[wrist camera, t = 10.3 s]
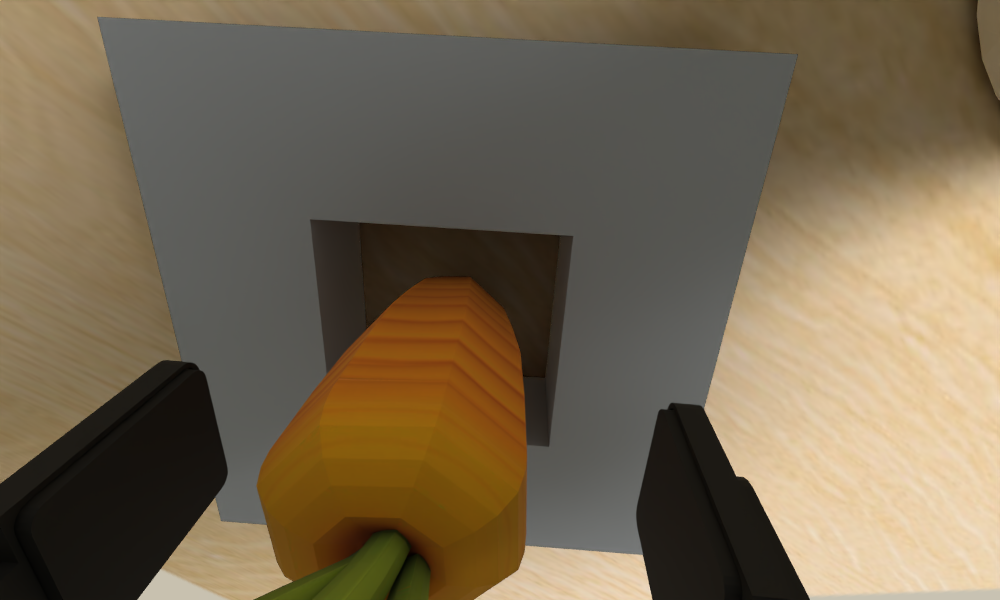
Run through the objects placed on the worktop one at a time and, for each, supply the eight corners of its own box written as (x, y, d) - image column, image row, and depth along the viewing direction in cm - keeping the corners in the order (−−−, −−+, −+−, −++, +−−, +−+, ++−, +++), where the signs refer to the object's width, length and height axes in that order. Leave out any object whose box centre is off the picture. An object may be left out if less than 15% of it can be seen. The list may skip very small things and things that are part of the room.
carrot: (550, 322, 19) (624, 1002, 5) (432, 365, 20) (215, 1031, 6) (498, 200, 17) (381, 725, 3) (370, 253, 18) (-146, 833, 4)
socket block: (731, 59, 15) (797, 54, 11) (641, 474, 21) (664, 556, 18) (200, 31, 15) (97, 16, 12) (272, 446, 22) (221, 521, 18)
